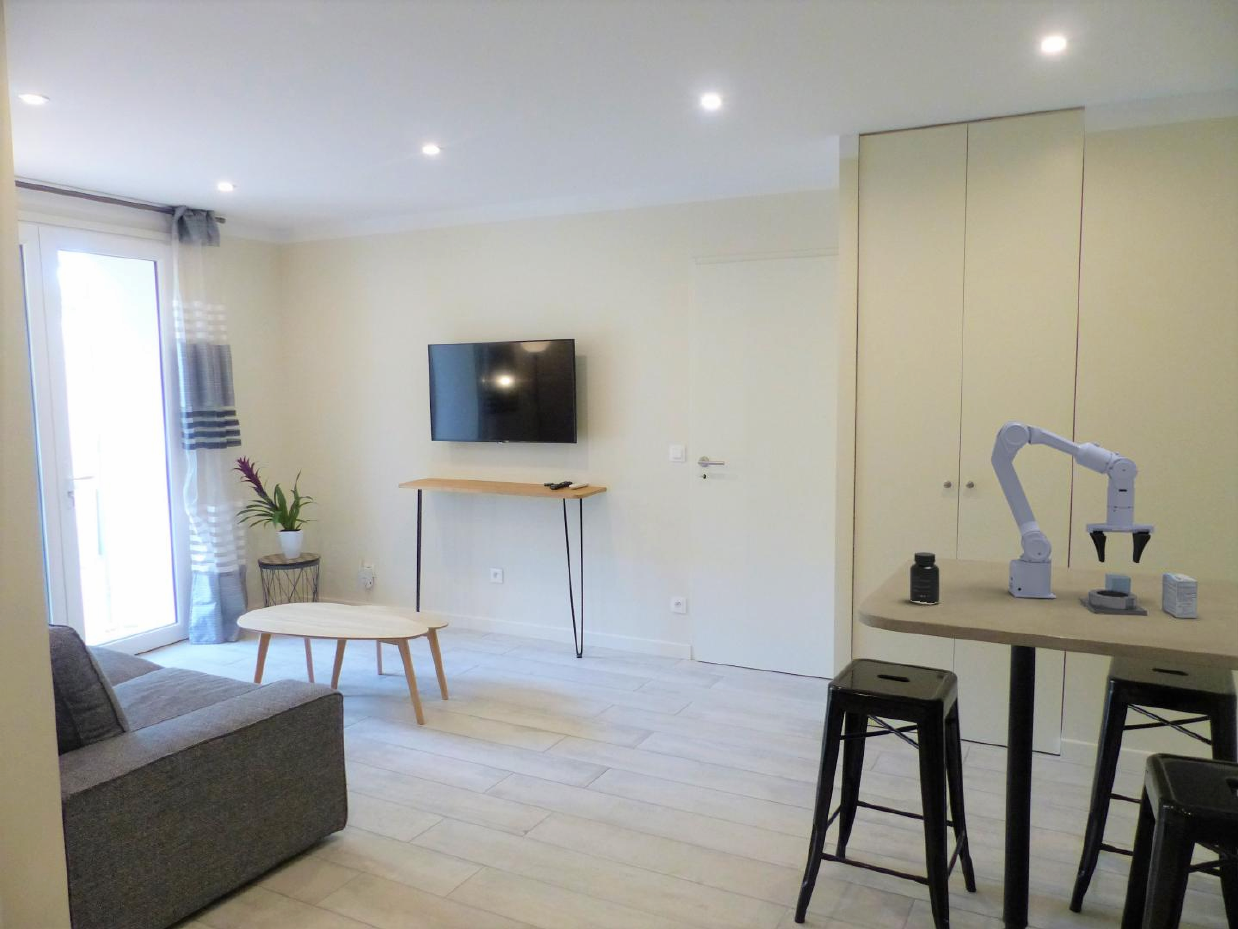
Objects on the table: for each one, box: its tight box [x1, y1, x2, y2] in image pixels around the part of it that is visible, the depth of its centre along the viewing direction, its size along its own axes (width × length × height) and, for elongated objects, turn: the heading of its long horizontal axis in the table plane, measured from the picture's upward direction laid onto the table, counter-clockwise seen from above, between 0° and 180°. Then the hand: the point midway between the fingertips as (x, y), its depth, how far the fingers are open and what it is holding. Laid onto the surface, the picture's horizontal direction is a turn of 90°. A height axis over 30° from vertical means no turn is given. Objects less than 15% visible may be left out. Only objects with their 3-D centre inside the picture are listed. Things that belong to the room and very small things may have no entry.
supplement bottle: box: [909, 551, 940, 603], centre depth 213 cm, size 7×7×12 cm
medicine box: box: [1161, 573, 1199, 619], centre depth 199 cm, size 8×4×9 cm, turn 168°
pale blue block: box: [1104, 573, 1132, 593], centre depth 212 cm, size 5×5×6 cm
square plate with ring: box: [1078, 588, 1148, 616], centre depth 205 cm, size 11×11×4 cm
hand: (1118, 562), depth 212 cm, fingers open, 7 cm apart
